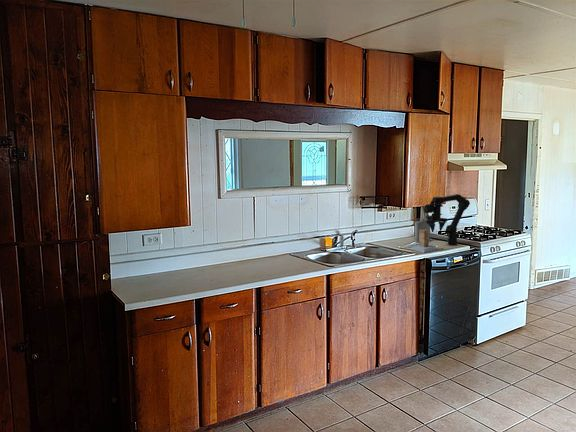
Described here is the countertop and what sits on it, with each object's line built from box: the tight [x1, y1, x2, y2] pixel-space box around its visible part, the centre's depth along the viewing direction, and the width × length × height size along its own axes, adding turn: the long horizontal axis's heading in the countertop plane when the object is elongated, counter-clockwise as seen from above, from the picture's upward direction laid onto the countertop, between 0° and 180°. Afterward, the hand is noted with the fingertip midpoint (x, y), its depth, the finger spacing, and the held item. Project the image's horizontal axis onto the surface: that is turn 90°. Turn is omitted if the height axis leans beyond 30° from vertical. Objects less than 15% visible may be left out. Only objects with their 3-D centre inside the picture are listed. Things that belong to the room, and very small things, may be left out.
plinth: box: [412, 244, 436, 253], centre depth 367 cm, size 12×12×3 cm
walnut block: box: [418, 229, 430, 247], centre depth 365 cm, size 5×5×13 cm
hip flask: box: [414, 217, 431, 244], centre depth 399 cm, size 16×4×20 cm, turn 116°
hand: (436, 231), depth 379 cm, fingers open, 9 cm apart
